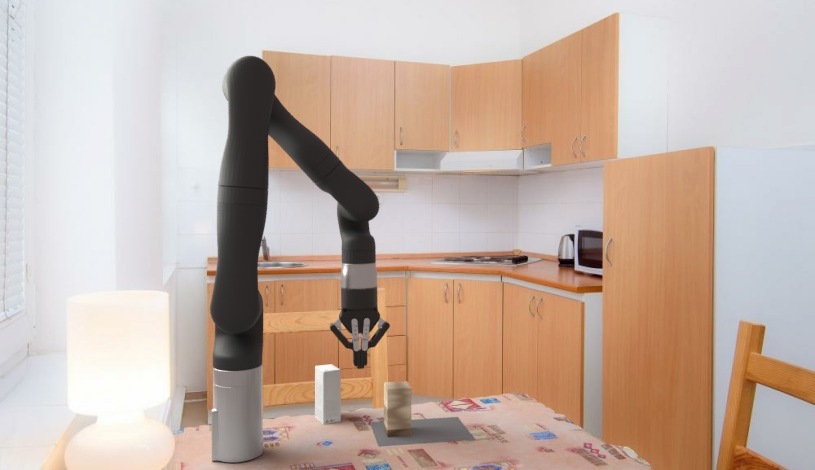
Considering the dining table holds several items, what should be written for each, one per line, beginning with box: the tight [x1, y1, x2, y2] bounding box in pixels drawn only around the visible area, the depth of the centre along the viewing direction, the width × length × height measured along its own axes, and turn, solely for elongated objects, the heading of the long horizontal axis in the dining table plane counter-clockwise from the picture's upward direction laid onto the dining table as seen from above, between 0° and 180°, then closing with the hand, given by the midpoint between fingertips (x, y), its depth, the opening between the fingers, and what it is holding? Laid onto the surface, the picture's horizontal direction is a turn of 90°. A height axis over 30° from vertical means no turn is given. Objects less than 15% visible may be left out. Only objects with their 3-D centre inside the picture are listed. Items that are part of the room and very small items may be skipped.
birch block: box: [383, 381, 412, 437], centre depth 128 cm, size 5×5×10 cm
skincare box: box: [314, 363, 342, 425], centre depth 137 cm, size 6×4×12 cm
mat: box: [369, 416, 476, 447], centre depth 129 cm, size 20×14×1 cm
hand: (360, 367), depth 127 cm, fingers closed
